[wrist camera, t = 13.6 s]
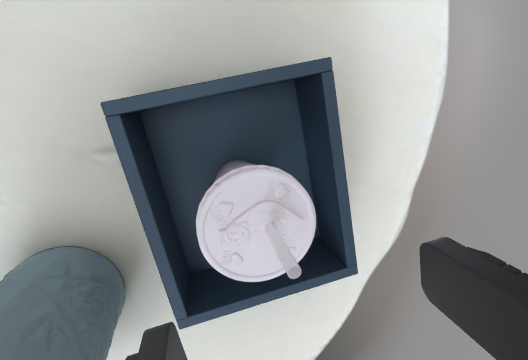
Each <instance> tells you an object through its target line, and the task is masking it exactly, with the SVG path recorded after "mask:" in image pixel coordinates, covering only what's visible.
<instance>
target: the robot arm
mask: <svg viewBox="0 0 528 360" xmlns="http://www.w3.org/2000/svg"><path fill="white" fill-rule="evenodd" d="M420 266H421V284H422V288H423V291H424V293H425V295H426V296H427V298H428V299H429V301H430V302H431V303H432V304H433V305H435V306H436V307H437V308H438V309H439V310H440V311H441V312H443V313H444V314H445V315H446V316H447V317H448V318H449V319H451V320H452V321H453V322H454V323H455V324H456V325H457V326H459V327H460V328H461V329H462V330H463V331H464V332H465V333H467V334H468V335H469V336H470V337H471V338H472V339H474V340H475V341H476V342H477V343H478V344H479V345H480V346H481V347H483V348H484V349H485V350H486V351H487V352H488V353H490V354H491V355H492V356H493V357H494V358H495V359H496V360H528V274H526V273H522V272H521V270H519V269H517V268H515V267H513V266H511V265H507V264H506V262H504V261H502V260H500V259H498V258H496V257H494V256H492V255H491V254H489V253H486V252H482V251H479V250H476V249H472V248H469V247H465V246H463V245H461V244H459V243H457V242H456V241H454V240H452V239H450V238H448V237H442V238H439V239H436V240H432V241H429V242H426V243H423V244H422V245H421V246H420ZM125 360H187V357H186V354H185V351H184V349H183V346H182V343H181V341H180V338H179V335H178V332H177V330H176V327H175V325H174V323H173V322H169V323H166V324H163V325H160V326H157V327H154V328H150V329H147V330H145V331H144V333H143V337H142V341H141V345H140V349H139V353H136V354H133V355H130V356H127V358H126V359H125Z"/></svg>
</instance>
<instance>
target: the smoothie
mask: <svg viewBox="0 0 528 360" xmlns="http://www.w3.org/2000/svg"><path fill="white" fill-rule="evenodd" d="M315 229H316V213H315V208H314V205H313V202H312V200H311V198H310V196H309V194H308V193H307V191H306V190H305V189H304V187H303V186H302V185H301V184H300V183H299V182H298V181H297V180H296V179H295V178H294V177H293V176H292V175H290V174H288V173H286V172H284V171H283V170H281V169H279V168H275V167H271V166H266V165H254V164H251V163H249V162H246V161H243V160H233V161H230V162H227V163H226V164H224V165H223V166H222V167H221V168H220V169H219V171H218V173H217V175H216V178H215V181H214V183H213V185H212V186H211V187H210V188H209V189H208V190H207V191H206V193H205V195H204V197H203V199H202V201H201V202H200V204H199V208H198V212H197V217H196V230H197V237H198V242H199V246H200V249H201V251H202V253H203V255H204V257H205V258H206V260H207V261H208V262H209V264H210V265H211V266H212V267H213V268H214V269H215V270H217V271H218V272H219V273H221V274H223V275H225V276H227V277H229V278H231V279H234V280H238V281H244V282H260V281H266V280H270V279H273V278H275V277H278V276H280V275H282V274H284V273H287V275H288V276H289V277H290V278H291V279H296V278H298V277H299V276H300V275H301V268H300V266H299V265H298V262H299V261H300V260H301V259H302V258H303V257H304V255H305V254H306V252H307V251H308V249H309V247H310V245H311V243H312V241H313V238H314V234H315Z"/></svg>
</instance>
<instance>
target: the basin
mask: <svg viewBox="0 0 528 360" xmlns="http://www.w3.org/2000/svg"><path fill="white" fill-rule="evenodd" d="M101 107H102V109H103V112H104V115H105V119H106V122H107V124H108V127H109V130H110V133H111V136H112V139H113V142H114V144H115V147H116V150H117V153H118V156H119V159H120V162H121V164H122V167H123V170H124V173H125V176H126V179H127V182H128V184H129V187H130V190H131V193H132V196H133V199H134V202H135V204H136V207H137V210H138V213H139V216H140V219H141V222H142V224H143V227H144V230H145V233H146V236H147V239H148V242H149V244H150V247H151V250H152V253H153V256H154V259H155V262H156V264H157V267H158V270H159V273H160V276H161V279H162V282H163V284H164V287H165V290H166V293H167V296H168V299H169V302H170V304H171V307H172V310H173V313H174V316H175V319H176V320H177V324H178V327H179V329H183V328H186V327H189V326H192V325H196V324H199V323H202V322H205V321H208V320H211V319H215V318H218V317H221V316H224V315H227V314H231V313H234V312H237V311H240V310H243V309H247V308H250V307H253V306H256V305H259V304H263V303H266V302H269V301H272V300H275V299H278V298H282V297H285V296H288V295H291V294H294V293H298V292H301V291H304V290H307V289H310V288H314V287H317V286H320V285H323V284H326V283H329V282H333V281H336V280H339V279H342V278H345V277H349V276H352V275H355V274H358V270H357V261H356V253H355V245H354V236H353V228H352V220H351V212H350V204H349V196H348V188H347V180H346V172H345V164H344V156H343V147H342V139H341V131H340V123H339V115H338V107H337V99H336V91H335V83H334V75H333V71H332V61H331V57H328V58H323V59H318V60H313V61H308V62H303V63H298V64H293V65H287V66H282V67H277V68H272V69H267V70H262V71H257V72H252V73H247V74H242V75H237V76H232V77H227V78H222V79H217V80H212V81H207V82H202V83H197V84H192V85H187V86H182V87H177V88H172V89H166V90H161V91H156V92H151V93H146V94H141V95H136V96H131V97H126V98H121V99H116V100H111V101H106V102H102V103H101ZM233 160H243V161H246V162H249V163H251V164H254V165H266V166H271V167H275V168H279V169H281V170H283V171H284V172H286V173H288V174H290V175H292V176H293V177H294V178H295V179H296V180H297V181H298V182H299V183H300V184H301V185H302V186H303V187H304V189H305V190H306V191H307V193H308V194H309V196H310V198H311V200H312V202H313V205H314V208H315V213H316V229H315V234H314V238H313V241H312V243H311V245H310V247H309V249H308V251H307V252H306V254H305V255H304V257H303V258H302V259H301V260H300V261H299V262H298V265H299V266H300V268H301V275H300V276H299V277H298V278H296V279H291V278H290V277H289V276H288V275H287V273H284V274H282V275H280V276H278V277H275V278H273V279H270V280H266V281H260V282H244V281H238V280H234V279H231V278H229V277H227V276H225V275H223V274H221V273H219V272H218V271H217V270H215V269H214V268H213V267H212V266H211V265H210V264H209V262H208V261H207V260H206V258H205V257H204V255H203V253H202V251H201V249H200V246H199V242H198V237H197V230H196V217H197V212H198V208H199V204H200V202H201V201H202V199H203V197H204V195H205V193H206V191H207V190H208V189H209V188H210V187H211V186H212V185H213V183H214V181H215V178H216V175H217V173H218V171H219V169H220V168H221V167H222V166H223V165H224V164H226V163H227V162H230V161H233Z"/></svg>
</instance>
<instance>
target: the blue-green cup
mask: <svg viewBox="0 0 528 360" xmlns="http://www.w3.org/2000/svg"><path fill="white" fill-rule="evenodd" d="M124 298H125V287H124V283H123V280H122V277H121V275H120V273H119V271H118V270H117V268H116V267H115V266H114V265H113V264H112V263H111V262H110V261H109V260H108V259H106V258H105V257H103V256H102V255H100V254H98V253H96V252H94V251H91V250H88V249H83V248H79V247H57V248H52V249H48V250H45V251H42V252H40V253H37V254H35V255H33V256H31V257H29V258H28V259H27V260H25V261H24V262H22V263H21V264H20V265H18V266H17V267H16V268H14V269H13V270H12V271H10V272H9V273H8V274H6V275H5V277H4V279H3V280H2V281H0V360H106V358H107V356H108V351H109V348H110V346H111V342H112V337H113V334H114V330H115V328H116V324H117V321H118V318H119V316H120V313H121V310H122V307H123V303H124Z"/></svg>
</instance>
